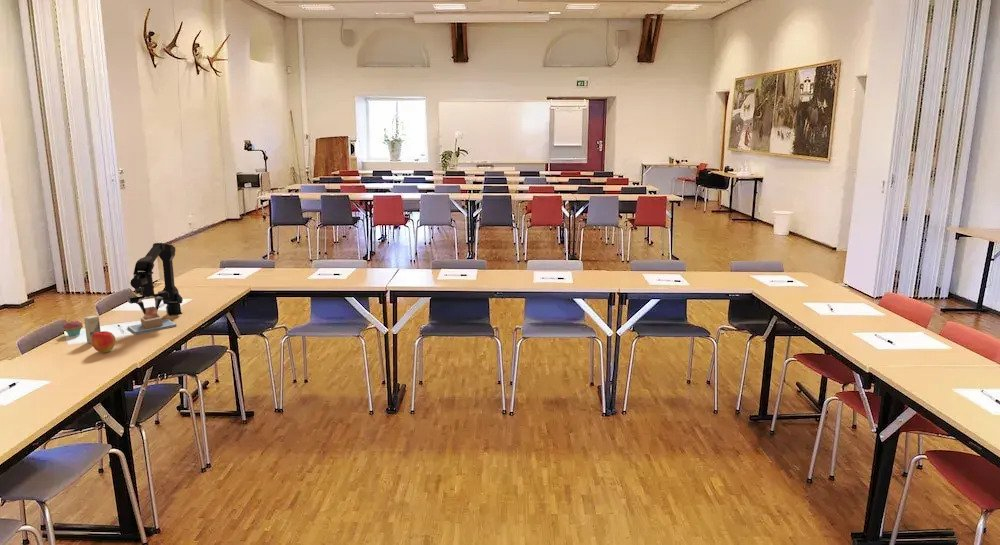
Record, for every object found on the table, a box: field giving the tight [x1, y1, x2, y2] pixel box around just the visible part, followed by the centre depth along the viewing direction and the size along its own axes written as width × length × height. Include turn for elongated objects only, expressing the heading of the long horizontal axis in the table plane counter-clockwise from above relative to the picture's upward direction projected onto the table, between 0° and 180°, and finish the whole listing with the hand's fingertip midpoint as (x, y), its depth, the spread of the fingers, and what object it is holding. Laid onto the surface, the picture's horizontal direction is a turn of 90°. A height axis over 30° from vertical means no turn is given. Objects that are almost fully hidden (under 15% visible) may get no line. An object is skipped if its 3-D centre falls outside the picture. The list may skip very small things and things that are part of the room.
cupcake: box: [62, 313, 84, 337], centre depth 336 cm, size 9×8×12 cm
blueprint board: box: [127, 313, 178, 335], centre depth 349 cm, size 20×14×6 cm
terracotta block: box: [143, 306, 158, 319], centre depth 348 cm, size 5×5×5 cm
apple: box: [92, 330, 116, 354], centre depth 311 cm, size 10×10×10 cm
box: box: [83, 315, 102, 344], centre depth 325 cm, size 5×4×13 cm
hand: (150, 312), depth 348 cm, fingers open, 6 cm apart
